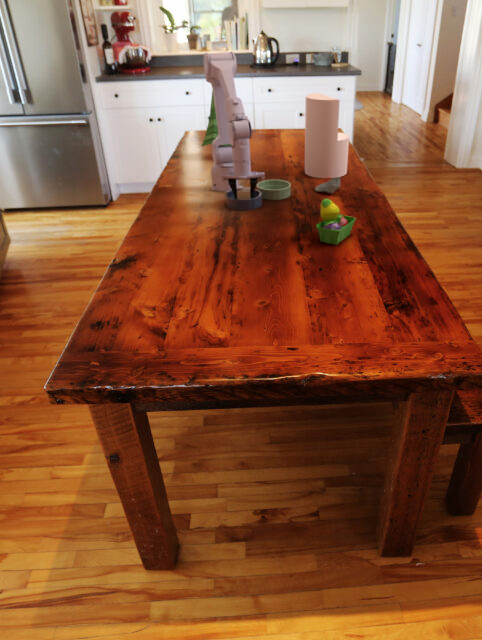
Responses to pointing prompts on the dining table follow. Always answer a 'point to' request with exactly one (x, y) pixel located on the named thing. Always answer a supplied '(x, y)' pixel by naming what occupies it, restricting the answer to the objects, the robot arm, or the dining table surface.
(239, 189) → the block
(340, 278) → the dining table surface
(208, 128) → the decorative tree
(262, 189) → the sage bowl
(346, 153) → the cylinder
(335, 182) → the stone
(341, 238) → the fruit basket
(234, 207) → the slate bowl
